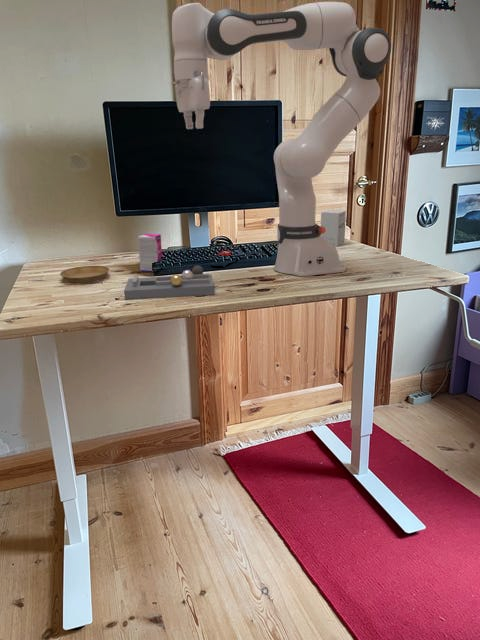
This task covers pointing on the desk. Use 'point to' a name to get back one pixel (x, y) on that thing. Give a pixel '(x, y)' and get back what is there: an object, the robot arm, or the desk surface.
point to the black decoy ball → (197, 270)
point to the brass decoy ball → (176, 280)
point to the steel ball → (187, 275)
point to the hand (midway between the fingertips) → (194, 128)
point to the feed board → (168, 287)
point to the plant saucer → (85, 274)
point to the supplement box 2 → (334, 226)
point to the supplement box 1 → (149, 250)
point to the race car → (225, 253)
